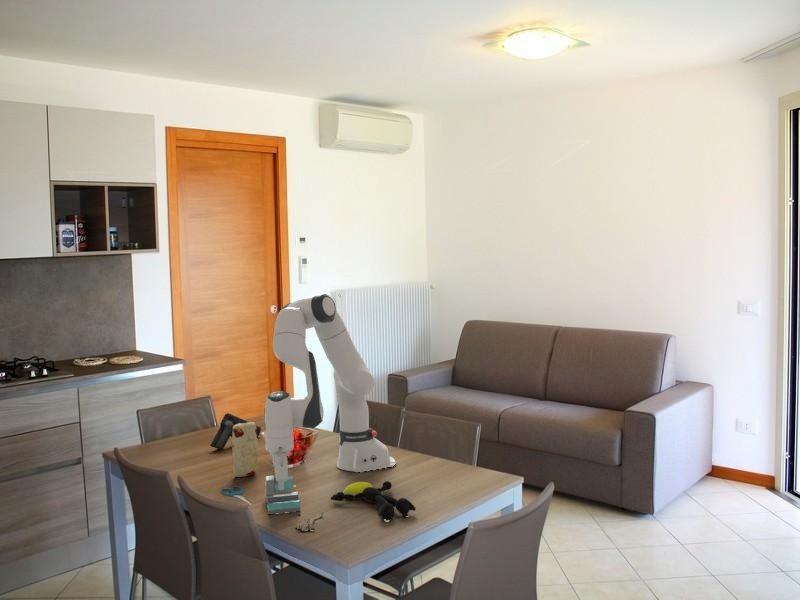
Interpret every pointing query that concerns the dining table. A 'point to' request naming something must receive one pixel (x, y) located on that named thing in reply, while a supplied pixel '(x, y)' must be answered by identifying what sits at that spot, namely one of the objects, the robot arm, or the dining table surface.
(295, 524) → the leaf
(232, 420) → the handgun
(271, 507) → the rack
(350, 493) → the toy
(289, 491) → the tan and gray block
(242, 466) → the food model
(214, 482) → the dining table surface
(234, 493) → the scissors
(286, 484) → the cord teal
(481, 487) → the dining table surface
